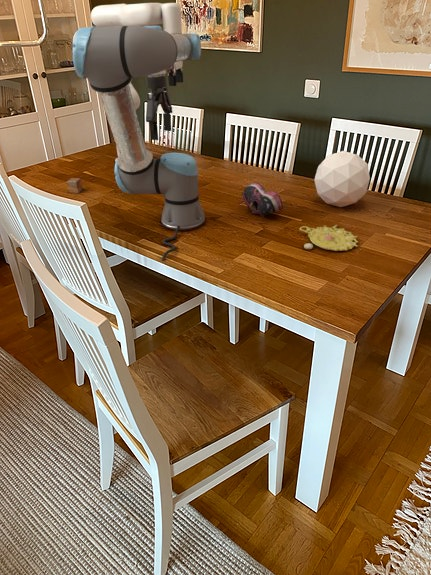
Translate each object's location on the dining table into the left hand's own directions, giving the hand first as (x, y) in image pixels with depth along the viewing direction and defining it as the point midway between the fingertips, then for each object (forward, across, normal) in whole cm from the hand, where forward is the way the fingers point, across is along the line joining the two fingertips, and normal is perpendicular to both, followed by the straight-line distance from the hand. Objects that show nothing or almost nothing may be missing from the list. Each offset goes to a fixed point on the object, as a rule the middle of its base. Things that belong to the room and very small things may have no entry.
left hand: (176, 84), depth 190 cm
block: (+36, +39, -35) cm, 63 cm away
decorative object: (+36, +66, +69) cm, 102 cm away
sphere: (+36, +35, +72) cm, 88 cm away
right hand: (+14, +31, +3) cm, 34 cm away
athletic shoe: (+36, +47, +43) cm, 73 cm away
